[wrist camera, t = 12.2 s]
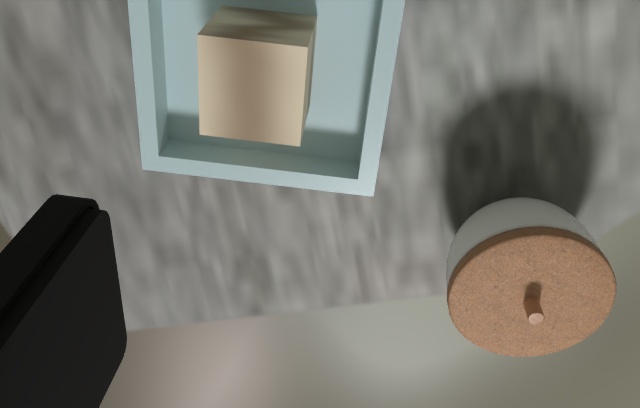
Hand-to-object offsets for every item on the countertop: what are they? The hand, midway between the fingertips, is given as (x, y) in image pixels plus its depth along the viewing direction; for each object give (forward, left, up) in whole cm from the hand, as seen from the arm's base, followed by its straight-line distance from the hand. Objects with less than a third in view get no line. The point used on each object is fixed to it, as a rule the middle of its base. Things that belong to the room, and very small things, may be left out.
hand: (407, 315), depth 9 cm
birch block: (+7, +7, -31) cm, 32 cm away
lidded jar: (-12, +19, -32) cm, 39 cm away
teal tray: (+7, +7, -32) cm, 33 cm away
